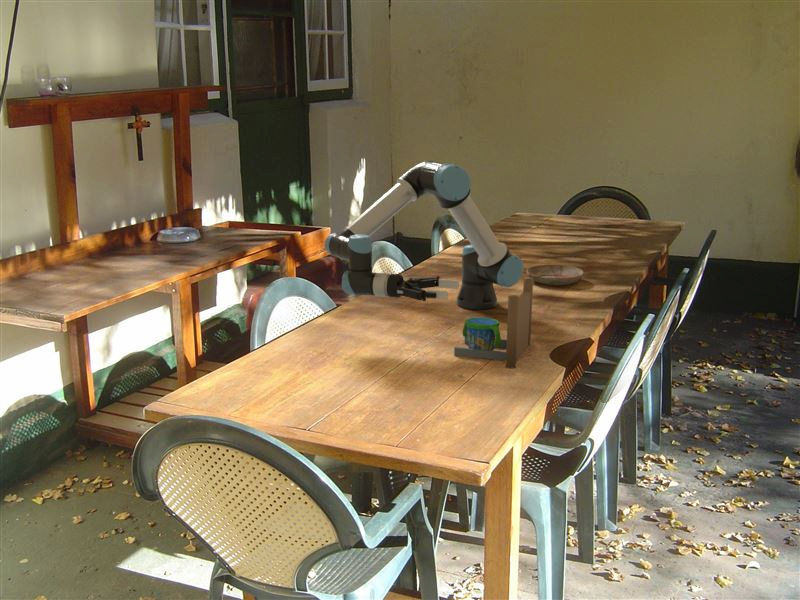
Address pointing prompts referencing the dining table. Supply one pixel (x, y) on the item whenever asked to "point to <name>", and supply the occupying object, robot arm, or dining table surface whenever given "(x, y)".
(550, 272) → the ceramic bowl
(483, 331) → the snack cup
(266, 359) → the dining table surface
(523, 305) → the headboard cradle
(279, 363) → the dining table surface
